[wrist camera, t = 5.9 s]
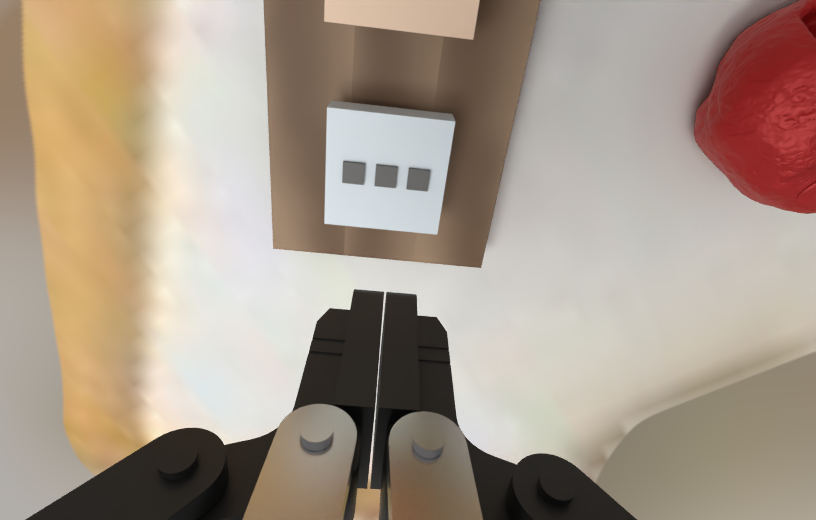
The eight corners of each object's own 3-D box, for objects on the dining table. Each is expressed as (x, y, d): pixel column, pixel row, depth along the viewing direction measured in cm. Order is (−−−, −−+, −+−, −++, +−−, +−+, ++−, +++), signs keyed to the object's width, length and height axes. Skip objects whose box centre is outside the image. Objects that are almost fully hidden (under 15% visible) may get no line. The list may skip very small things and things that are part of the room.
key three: (448, 101, 24) (455, 122, 20) (433, 202, 27) (437, 236, 23) (338, 89, 24) (326, 108, 20) (334, 192, 26) (323, 225, 23)
